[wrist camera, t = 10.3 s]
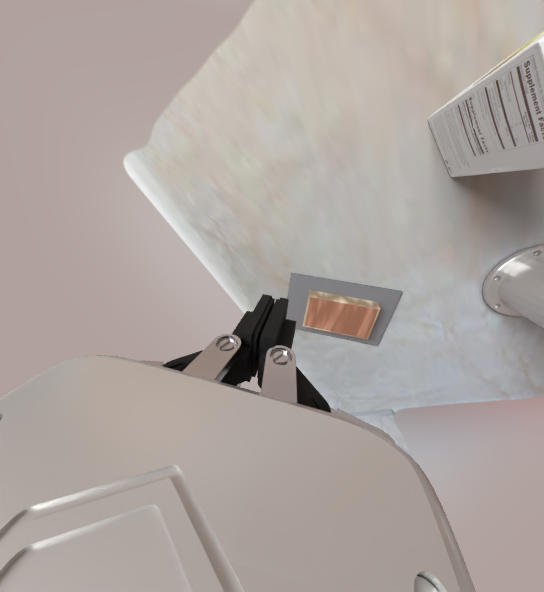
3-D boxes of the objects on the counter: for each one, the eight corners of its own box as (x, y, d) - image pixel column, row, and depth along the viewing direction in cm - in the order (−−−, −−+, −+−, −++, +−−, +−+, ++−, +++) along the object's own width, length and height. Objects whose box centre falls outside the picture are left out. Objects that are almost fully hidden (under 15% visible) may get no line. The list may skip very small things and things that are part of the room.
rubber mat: (401, 291, 39) (402, 292, 38) (376, 344, 45) (377, 345, 45) (291, 272, 42) (290, 273, 42) (283, 324, 49) (283, 326, 49)
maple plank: (309, 289, 43) (377, 301, 40) (303, 319, 46) (365, 332, 44) (308, 295, 40) (381, 308, 38) (302, 326, 44) (367, 340, 42)
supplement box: (515, 49, 23) (838, -190, 9) (536, 126, 25) (818, 40, 11) (424, 120, 27) (536, 39, 13) (448, 180, 30) (568, 169, 15)
